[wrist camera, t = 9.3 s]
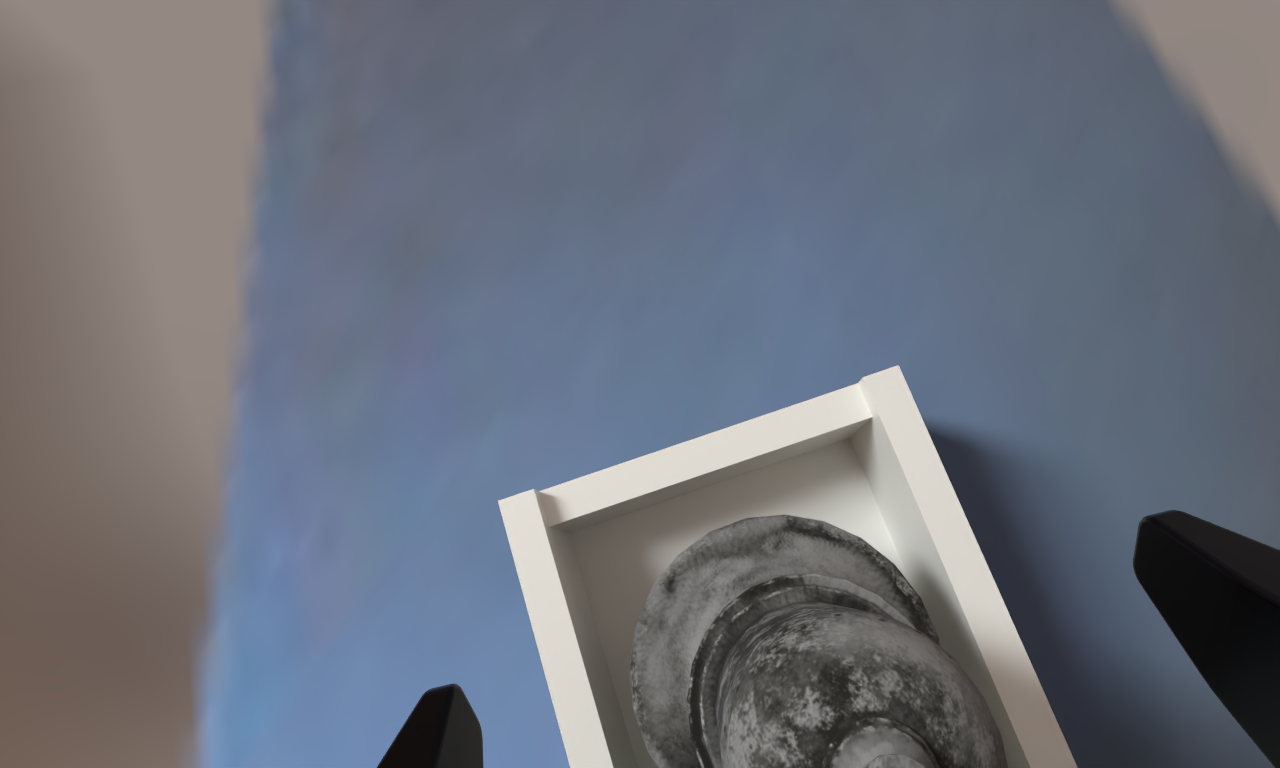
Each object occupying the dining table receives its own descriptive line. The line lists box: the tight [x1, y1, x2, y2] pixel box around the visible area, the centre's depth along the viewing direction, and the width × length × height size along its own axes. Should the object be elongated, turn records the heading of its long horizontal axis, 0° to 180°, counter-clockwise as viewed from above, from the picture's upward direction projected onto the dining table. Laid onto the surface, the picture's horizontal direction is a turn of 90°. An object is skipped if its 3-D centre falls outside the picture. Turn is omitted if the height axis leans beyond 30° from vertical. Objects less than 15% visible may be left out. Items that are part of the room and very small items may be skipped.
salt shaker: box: [630, 515, 1008, 768], centre depth 11 cm, size 6×6×12 cm
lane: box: [498, 365, 1078, 768], centre depth 15 cm, size 12×9×5 cm
